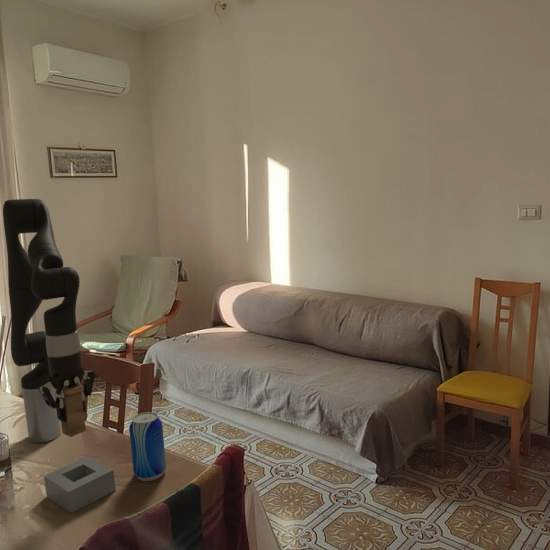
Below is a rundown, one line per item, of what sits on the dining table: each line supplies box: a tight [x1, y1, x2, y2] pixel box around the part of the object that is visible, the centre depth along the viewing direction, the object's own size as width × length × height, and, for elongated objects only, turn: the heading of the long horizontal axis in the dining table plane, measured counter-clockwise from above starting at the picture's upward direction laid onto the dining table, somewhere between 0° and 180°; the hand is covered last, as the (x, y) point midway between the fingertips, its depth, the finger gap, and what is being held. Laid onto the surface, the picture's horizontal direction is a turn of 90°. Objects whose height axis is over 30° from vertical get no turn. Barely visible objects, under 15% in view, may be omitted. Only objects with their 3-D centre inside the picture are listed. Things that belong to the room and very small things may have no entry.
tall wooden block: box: [54, 383, 87, 438], centre depth 130 cm, size 7×4×12 cm, turn 50°
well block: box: [43, 455, 116, 514], centre depth 134 cm, size 12×12×6 cm
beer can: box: [128, 411, 167, 482], centre depth 140 cm, size 8×8×16 cm
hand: (72, 417), depth 131 cm, fingers closed on tall wooden block, 4 cm apart
